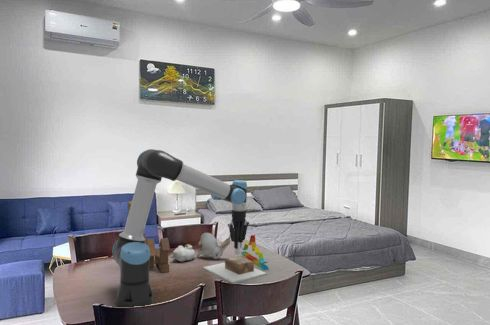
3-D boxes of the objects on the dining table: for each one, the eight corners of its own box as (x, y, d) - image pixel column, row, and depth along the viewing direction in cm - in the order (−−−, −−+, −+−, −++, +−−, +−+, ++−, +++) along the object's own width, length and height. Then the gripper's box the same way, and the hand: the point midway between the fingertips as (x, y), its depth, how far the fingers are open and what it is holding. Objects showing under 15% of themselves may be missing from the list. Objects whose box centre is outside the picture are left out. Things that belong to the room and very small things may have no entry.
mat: (232, 283, 177) (232, 281, 177) (203, 268, 197) (203, 267, 197) (266, 274, 191) (266, 273, 191) (235, 261, 211) (235, 260, 211)
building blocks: (131, 280, 177) (133, 208, 175) (125, 264, 199) (127, 200, 198) (171, 275, 185) (173, 206, 183) (161, 261, 207) (162, 199, 206)
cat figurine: (195, 242, 215) (172, 242, 205) (200, 251, 209) (178, 253, 200) (188, 253, 218) (166, 255, 208) (194, 263, 213) (171, 265, 203)
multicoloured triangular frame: (268, 270, 199) (269, 242, 198) (263, 270, 197) (264, 243, 197) (246, 254, 226) (246, 230, 226) (241, 254, 225) (242, 230, 224)
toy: (194, 260, 212) (228, 262, 208) (194, 233, 211) (228, 235, 207) (199, 256, 220) (231, 257, 216) (199, 230, 220) (231, 232, 216)
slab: (239, 264, 186) (254, 261, 193) (225, 258, 196) (239, 255, 202) (238, 274, 187) (253, 271, 193) (224, 268, 196) (239, 264, 202)
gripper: (233, 212, 185) (232, 258, 186) (253, 209, 193) (251, 253, 194) (224, 209, 191) (223, 254, 192) (244, 207, 199) (242, 250, 200)
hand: (237, 254), depth 193 cm, fingers closed
